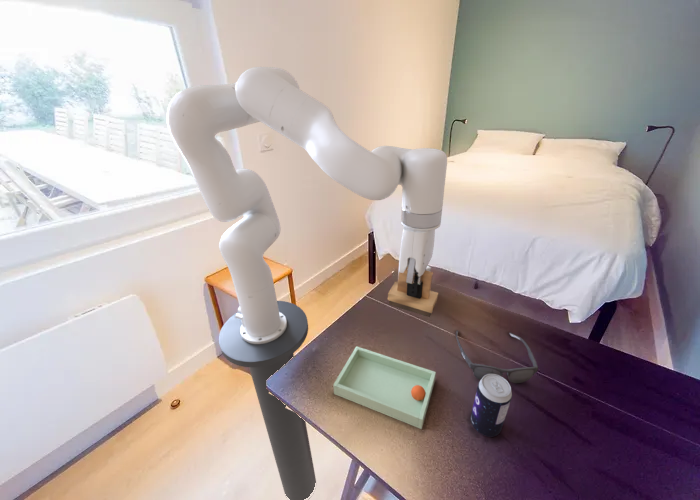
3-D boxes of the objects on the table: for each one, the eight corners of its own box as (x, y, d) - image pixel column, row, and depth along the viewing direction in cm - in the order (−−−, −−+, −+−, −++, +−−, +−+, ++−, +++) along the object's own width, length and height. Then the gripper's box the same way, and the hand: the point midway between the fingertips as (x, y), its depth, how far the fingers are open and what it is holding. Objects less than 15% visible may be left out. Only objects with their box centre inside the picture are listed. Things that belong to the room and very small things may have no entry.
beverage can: (490, 409, 65) (501, 369, 59) (506, 436, 60) (520, 395, 54) (464, 414, 64) (473, 374, 58) (479, 442, 59) (490, 401, 53)
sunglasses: (464, 384, 70) (467, 366, 68) (450, 336, 86) (452, 321, 84) (542, 388, 68) (547, 371, 66) (514, 339, 84) (517, 323, 82)
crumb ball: (413, 391, 65) (426, 399, 64) (416, 379, 67) (429, 387, 67) (407, 398, 66) (420, 406, 66) (410, 387, 69) (423, 394, 68)
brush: (387, 305, 71) (389, 270, 66) (394, 293, 75) (397, 258, 70) (430, 318, 67) (437, 282, 62) (436, 305, 71) (442, 269, 66)
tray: (334, 394, 69) (333, 384, 68) (356, 354, 79) (356, 346, 78) (421, 429, 62) (422, 419, 60) (434, 381, 71) (436, 371, 70)
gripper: (413, 200, 68) (409, 271, 77) (388, 229, 56) (387, 310, 64) (449, 204, 65) (440, 278, 74) (430, 236, 53) (423, 320, 61)
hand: (415, 292), depth 69 cm, fingers closed on brush
